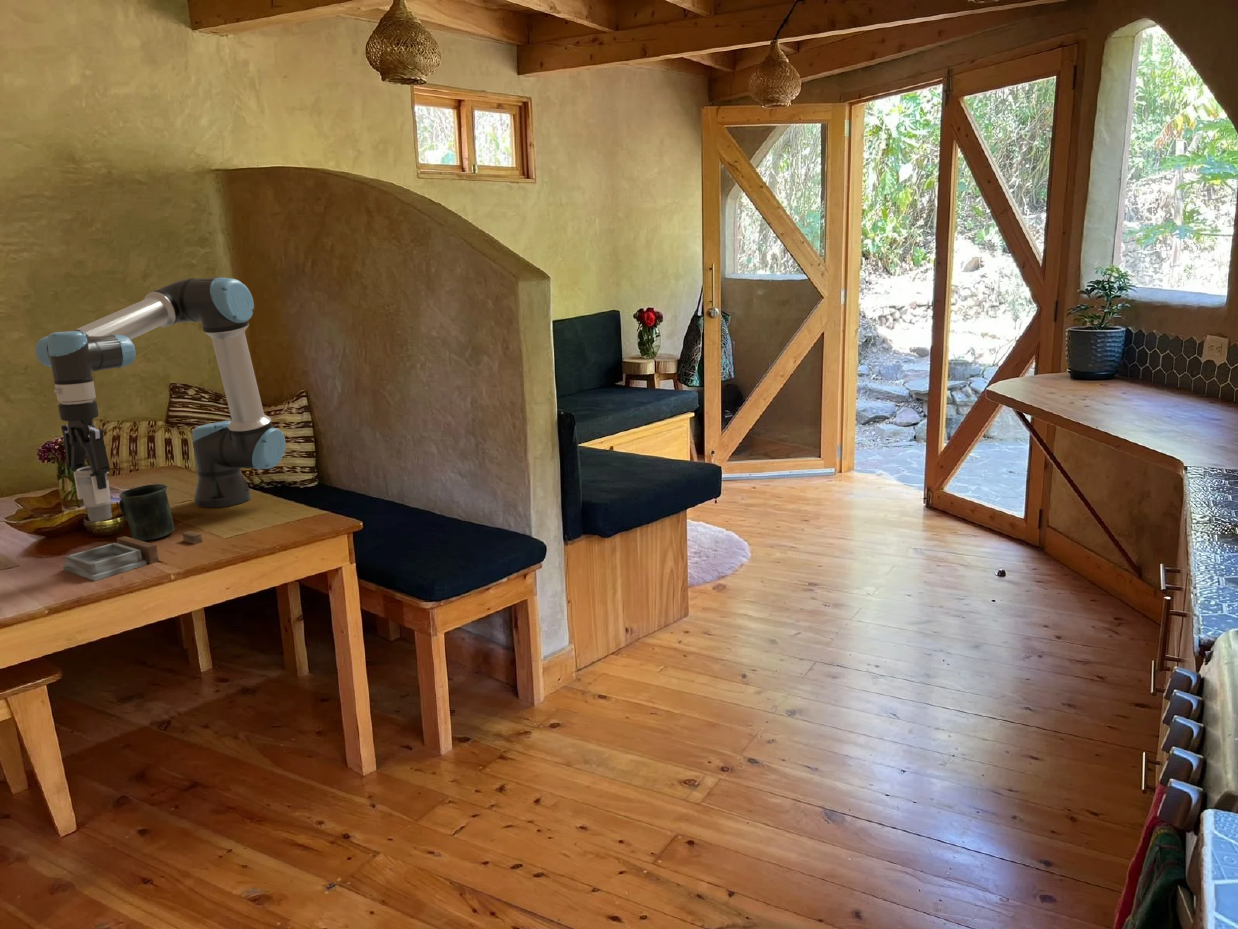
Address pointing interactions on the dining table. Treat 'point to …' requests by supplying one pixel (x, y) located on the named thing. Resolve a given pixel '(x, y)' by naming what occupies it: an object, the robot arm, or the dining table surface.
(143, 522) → the mug
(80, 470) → the cup
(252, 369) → the robot arm
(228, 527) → the dining table surface
